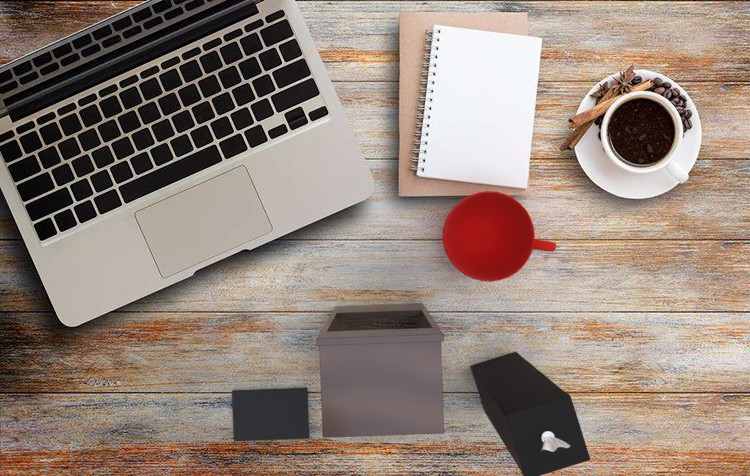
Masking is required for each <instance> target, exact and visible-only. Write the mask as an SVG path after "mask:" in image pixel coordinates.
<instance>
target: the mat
mask: <svg viewBox="0 0 750 476" xmlns="http://www.w3.org/2000/svg"><path fill="white" fill-rule="evenodd" d="M308 398H309V397H308V387H297V388H296V387H295V388H294V387H293V388H267V389H265V388H263V389H238V390H237V389H236V390H232V391H231V400H232V401H231V402H232V403H231V404H232V429H233V430H232V431H233V433H232V434H233V442H257V441H283V440H284V441H285V440H309V438H310V425H309V399H308Z"/></svg>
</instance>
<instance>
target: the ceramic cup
mask: <svg viewBox="0 0 750 476" xmlns="http://www.w3.org/2000/svg"><path fill="white" fill-rule="evenodd" d="M535 233H536V232H535V228H534V224H533V220H532V217H531V216H530V214H529V212H528V210H527V209H526V208H525V206H523V204H522V203H520V202H519V201H518V200H516V198H514V197H512V196H510V195H508V194H506V193H504V192H500V191H491V190H485V191H477V192H476V193H472V194H470V195H468V196H466V197H464V198H462V199H461V200H460V201H459V202H457V203H456V204H455V205H454V207H453V208H452V209H451V211H449V213H448V215H447V216H446V218H445V221H444V223H443V227H442V236H441V237H442V244H443V248H444V252H445V254H446V257H447V258H448V260H449V261H450V263H451V265H453V266H454V268H455V269H456V270H457V271H459V272H461V273H462V274H463V275H464V276H467V277H468V278H470V279H472V280H476V281H480V282H489V283H490V282H491V283H492V282H497V281H498V282H499V281H503V280H505V279H509V278H510V277H513V275H515V274H517V273H518V272H519V271H520V270H521V269H523V268H524V266H525V265H526V264H527V262H528V261H529V259H530V258H531V255H532V253H533V250H535V251H544V252H551V253H553V252H555V251H556V249H557V243H556V242H554V241H551V240H550V241H549V240H543V239H538V238H537V239H536V238H535V237H536V234H535Z"/></svg>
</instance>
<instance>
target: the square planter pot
mask: <svg viewBox="0 0 750 476" xmlns="http://www.w3.org/2000/svg"><path fill="white" fill-rule="evenodd" d="M410 316H413V317H414V316H417V324H418V325H417V326H418V327H417V328H396V329H395V328H394V329H393V328H391V329H367V330H365V329H364V330H363V329H362V330H342V319H353V318H354V319H355V318H384V317H386V318H387V317H410ZM442 342H445V334H444V333H443V331H442V330H441V328H440V326H439V325H438V324H437V322H436V321H435V319H434V318H433V317H432V315H431V313H430V312H429V311H428V309H427V308H426V306H425V304H424V303H423V302H418V303H417V302H416V303H415V302H413V303H411V302H410V303H385V304H384V303H383V304H360V305H359V304H358V305H354V304H353V305H335V307H334V308H333V309H332V311H331V313H330V315H329V316H328V317H327V320H326V322H324V325H323V326H322V328H321V330H320V331H319V333H318V334H317V336H316V338H315V346H316V347H317V346H318V347H319V348H318V349H319V373H320V375H319V377H320V402H321V403H320V404H321V429H322V431H321V432H322V438H323V439H325V438H327V439H329V438H353V437H355V438H356V437H382V436H385V437H386V436H388V437H389V436H411V435H414V436H415V435H440V434H441V435H442V434H443V435H444V434H445V419H444V418H445V416H444V415H445V413H444V387H443V385H444V384H443V359H442V358H443V357H442Z"/></svg>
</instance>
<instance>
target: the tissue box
mask: <svg viewBox="0 0 750 476" xmlns="http://www.w3.org/2000/svg"><path fill="white" fill-rule="evenodd" d="M469 367H470V371H471V373H472V377H473V381H474V383H475V386H476V389H477V393H478V395H479V399H480V402H481V405H482V408H483V411H484V414H485V415H486V417H487V418H488V420H489V421H490V423H491V425H492V426H493V428H494V430H495V432H496V433H497V435H498V437H499V438H500V439H501V441H502V443H503V445H504V446H505V448H506V449H507V451H508V452H509V454H510V456H511V458H512V459H513V461H514V462H515V464H516V466H517V467H518V469H519V471H520V472H521V475H522V476H544V475H547V474H550V473H553V472H557V471H560V470H563V469H566V468H569V467H573V466H576V465H580V464H582V463H585V462H588V461H591V457H590V453H589V450H588V447H587V443H586V440H585V437H584V434H583V430H582V428H581V427H582V426H581V424H580V421H579V419H578V415H577V413H576V409H575V405H574V402H573V399H572V396H571V395H570V394H569V393H568V392H566V391H565V390H563V389H562V388H561V387H559V386H558V385H557V384H556V383H555V382H553V381H552V380H551V379H550V378H549V377H548V376H546V375H545V374H544V373H542V372H541V371H540V370H539V369H538V368H536V367H535V366H534V365H533V364H532V363H531V362H529V361H528V360H527V359H526V358H525V357H523V356H522V355H521V354H519V353H518V351H514V352H510V353H507V354H504V355H501V356H497V357H495V358H491V359H488V360H485V361H482V362H478V363H475V364H472V365H470V366H469Z"/></svg>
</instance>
